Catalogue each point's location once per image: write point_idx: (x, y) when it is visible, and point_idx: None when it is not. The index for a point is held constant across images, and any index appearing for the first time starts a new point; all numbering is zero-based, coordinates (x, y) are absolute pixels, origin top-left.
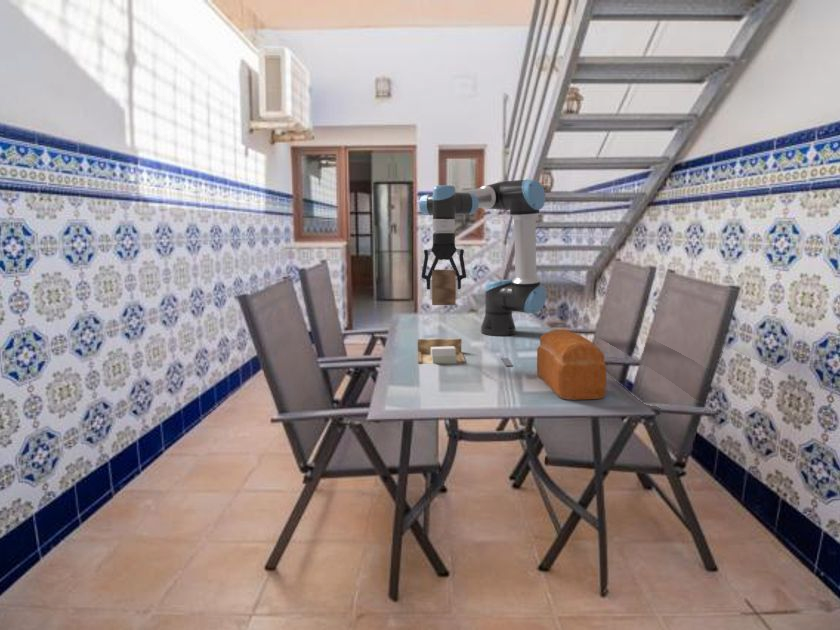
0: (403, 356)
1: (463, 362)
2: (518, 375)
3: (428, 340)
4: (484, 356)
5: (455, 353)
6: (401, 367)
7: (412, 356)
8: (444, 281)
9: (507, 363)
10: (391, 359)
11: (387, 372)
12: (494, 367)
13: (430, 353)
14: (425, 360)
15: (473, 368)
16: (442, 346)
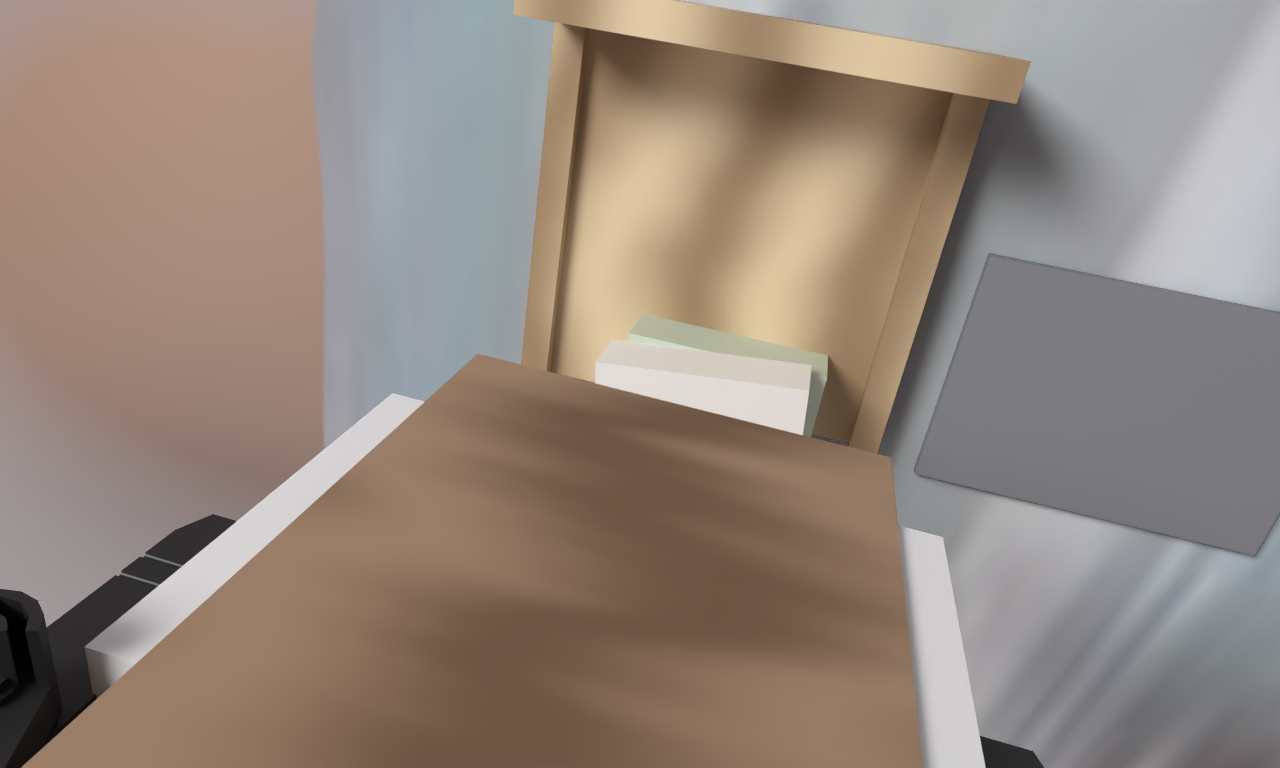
0: (444, 17)
1: (860, 449)
2: (1141, 727)
3: (632, 34)
4: (1203, 182)
5: (824, 380)
6: (420, 349)
7: (520, 33)
8: None
9: (1245, 499)
10: (349, 104)
11: (337, 433)
12: (1084, 529)
13: (675, 62)
14: (590, 294)
15: (911, 507)
16: (703, 376)
